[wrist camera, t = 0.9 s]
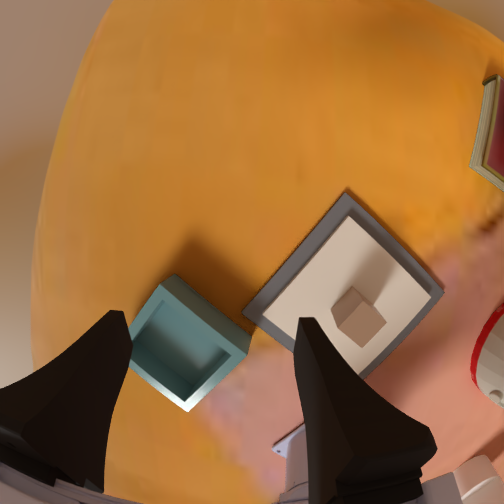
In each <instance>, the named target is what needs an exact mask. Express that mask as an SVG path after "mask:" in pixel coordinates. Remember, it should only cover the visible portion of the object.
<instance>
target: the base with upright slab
mask: <svg viewBox="0 0 504 504" xmlns="http://www.w3.org/2000/svg"><path fill="white" fill-rule="evenodd" d="M453 473H454V476H455V480H456V483H457V486H458V489H459V492H460V496H461V499H462V502H463V504H504V483H503V481H502V479H501V478H500V476H499V474H498V473H497V471H496V470H495V468H494V466H493V465H492V463H491V461H490V460H489V458H488V457H487V456H486V455H479V456H476V457H474V458H472V459H470V460H468V461H466V462H465V463H463V464H462V465H461V466H459V467H458V468H457V469H456V470H454V471H453Z"/></svg>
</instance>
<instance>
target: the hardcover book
mask: <svg viewBox="0 0 504 504" xmlns="http://www.w3.org/2000/svg"><path fill="white" fill-rule="evenodd" d="M482 84H483V85H484V86H485V88H484V95H483V102H482V108H481V114H480V120H479V125H478V130H477V135H476V139H475V144H474V148H473V152H472V156H471V160H470V164H469V167H470V168H472V169H473V170H475V171H476V172H477V173H479V174H480V175H482V176H483V177H484V178H486V179H487V180H489V181H490V182H491V183H493V184H494V185H495V186H497V187H498V188H499V189H500V190H502V191H503V192H504V79H503V78H502V77H500V76H499V75H497V74H495V75H492V76H490V77H489V78H487V79H486V80H484V81H483V83H482Z"/></svg>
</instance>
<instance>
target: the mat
mask: <svg viewBox="0 0 504 504" xmlns="http://www.w3.org/2000/svg"><path fill="white" fill-rule="evenodd" d="M346 216H349V217H351V218H352V219H353V220H354V221H355V222H356V223H357V224H358V225H359V226H360V227H361V228H362V229H364V230H365V231H366V232H367V233H368V234H369V235H370V236H371V237H372V238H373V239H374V240H375V241H376V242H377V243H378V244H379V245H380V246H381V247H382V248H384V249H385V250H386V251H387V252H388V253H389V254H390V255H391V256H392V257H393V258H394V259H395V260H396V261H397V262H398V263H399V264H400V265H401V266H402V267H403V268H404V269H405V270H406V271H407V272H408V273H409V274H410V275H411V277H412V278H413V279H414V280H415V281H416V282H417V283H418V284H419V285H420V286H421V287H422V288H423V289H424V290H425V291H426V292H427V293H428V294H429V295H430V297H431V298H430V299H429V301H428V302H427V303H426V304H425V305H424V307H423V308H422V309H421V310H420V311H419V312H418V313H417V315H416V316H415V317H414V318H413V319H412V320H411V321H410V322H409V324H408V325H407V326H406V327H405V328H404V329H403V330H402V331H401V332H400V333H399V334H398V336H397V337H396V338H395V339H394V340H393V341H392V342H391V343H390V344H389V345H388V346H387V347H386V348H385V349H384V350H383V351H382V352H381V353H380V354H379V355H378V356H377V357H376V358H375V359H374V360H373V361H372V362H371V363H370V364H369V365H368V366H367V367H366V368H365V369H364V370H363V371H361V372H360V373H359V374H358V375H359V376H360V378H361V379H362V380H363V379H365V378H366V377H367V376H368V375H369V374H370V373H371V372H372V371H373V370H374V369H375V368H376V367H377V366H378V365H379V364H380V363H381V362H382V361H383V360H384V359H385V358H386V357H387V356H388V355H389V354H390V353H391V352H392V351H393V350H394V349H395V348H396V347H397V346H398V345H399V344H400V343H401V342H402V341H403V340H404V339H405V338H406V337H407V336H408V335H409V334H410V332H411V331H412V330H413V329H414V328H415V327H416V326H417V325H418V324H419V323H420V321H421V320H422V319H423V318H424V317H425V316H426V315H427V313H428V312H429V311H430V310H431V309H432V307H433V306H434V305H435V304H436V303H437V301H438V300H439V299H440V298H441V297H442V295H443V294H444V293H445V292H444V291H443V290H442V289H441V288H440V287H439V285H438V284H437V283H436V282H435V281H434V280H433V279H432V278H431V277H430V275H429V274H428V273H427V272H426V271H425V270H424V269H423V268H422V267H421V266H420V265H419V264H418V263H417V261H416V260H415V259H414V258H413V257H412V256H411V255H410V254H409V253H408V252H407V251H406V250H405V249H404V248H403V247H402V246H401V245H400V244H399V243H398V242H397V241H396V240H395V239H394V238H393V237H392V236H391V235H390V234H389V233H388V232H387V231H386V230H385V229H384V228H383V227H382V226H381V225H380V224H379V223H378V222H377V221H376V220H375V219H374V218H373V217H372V216H370V215H369V214H368V213H367V212H366V211H365V210H364V209H363V208H362V207H361V206H360V205H359V204H358V203H356V202H355V201H354V200H353V199H352V198H351V197H350V196H349V195H348V194H347V193H345V192H344V193H343V195H342V196H341V197H340V198H339V199H338V201H337V202H336V203H335V204H334V205H333V207H332V208H331V209H330V210H329V211H328V213H327V214H326V215H325V216H324V217H323V219H322V220H321V221H320V222H319V223H318V224H317V226H316V227H315V228H314V229H313V230H312V232H311V233H310V234H309V235H308V236H307V237H306V239H305V240H304V241H303V242H302V243H301V244H300V246H299V247H298V248H297V249H296V250H295V251H294V253H293V254H292V255H291V256H290V257H289V258H288V260H287V261H286V262H285V263H284V264H283V265H282V266H281V268H280V269H279V270H278V271H277V272H276V273H275V274H274V276H273V277H272V278H271V279H270V280H269V281H268V282H267V284H266V285H265V286H264V287H263V288H262V289H261V290H260V291H259V293H258V294H257V295H256V296H255V297H254V298H253V299H252V301H251V302H250V303H249V304H248V305H247V306H246V307H245V308H244V309H243V311H242V312H241V313H242V314H243V315H245V316H246V317H247V318H248V319H250V320H251V321H252V322H253V323H255V324H256V325H257V326H259V327H260V328H261V329H262V330H264V331H265V332H266V333H267V334H269V335H270V336H271V337H273V338H274V339H275V340H276V341H278V342H279V343H280V344H282V345H283V346H284V347H286V348H287V349H288V350H290V351H291V352H292V353H293V351H294V345H295V340H294V339H293V338H292V337H290V336H289V335H288V334H286V333H285V332H284V331H283V330H281V329H280V328H279V327H277V326H276V325H275V324H274V323H272V322H271V321H270V320H269V319H267V318H266V317H265V316H264V315H263V311H264V310H265V309H266V308H267V307H268V306H269V305H270V304H271V303H272V301H273V300H274V299H275V298H276V297H277V296H278V295H279V294H280V293H281V291H282V290H283V289H284V288H285V287H286V286H287V285H288V284H289V283H290V281H291V280H292V279H293V278H294V277H295V276H296V275H297V274H298V272H299V271H300V270H301V269H302V268H303V267H304V266H305V264H306V263H307V262H308V261H309V260H310V259H311V258H312V256H313V255H314V254H315V253H316V252H317V251H318V249H319V248H320V247H321V246H322V245H323V244H324V242H325V241H326V240H327V239H328V238H329V237H330V235H331V234H332V233H333V232H334V231H335V230H336V228H337V227H338V226H339V225H340V224H341V222H342V221H343V220H344V219H345V218H346Z"/></svg>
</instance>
